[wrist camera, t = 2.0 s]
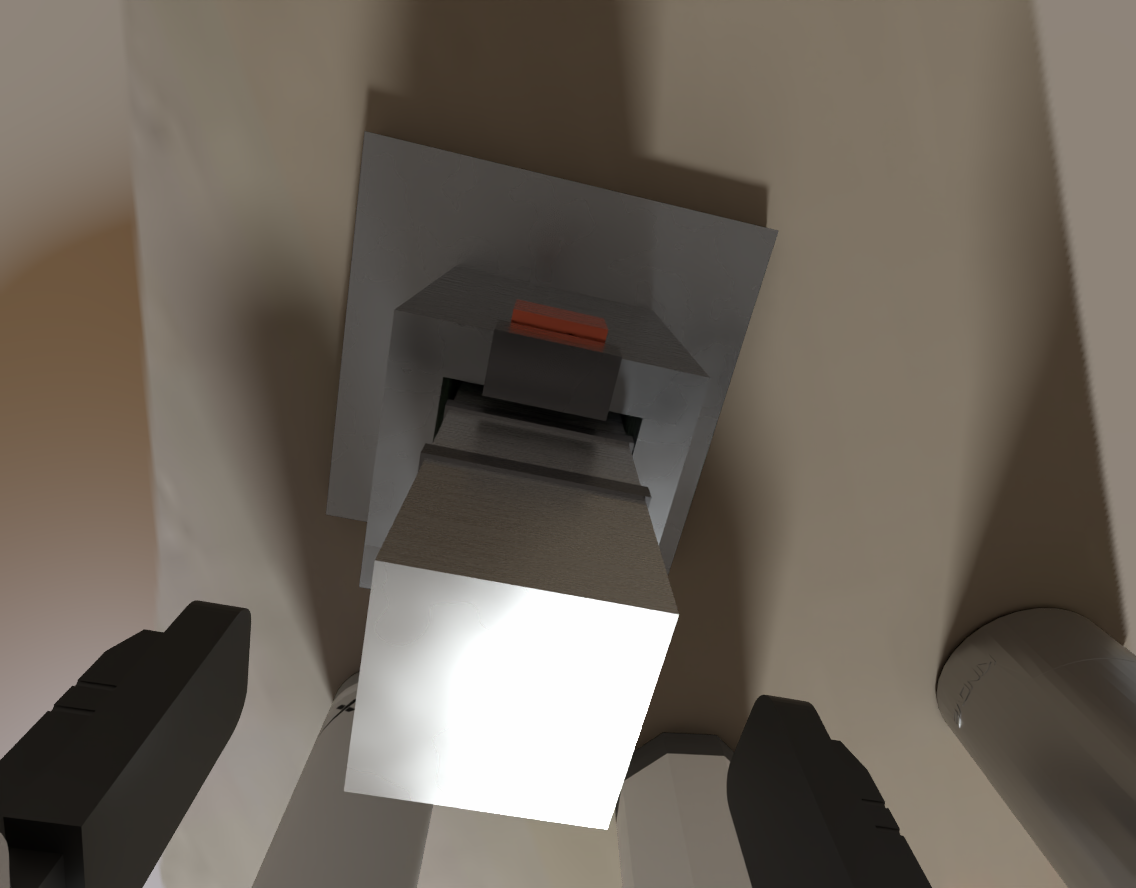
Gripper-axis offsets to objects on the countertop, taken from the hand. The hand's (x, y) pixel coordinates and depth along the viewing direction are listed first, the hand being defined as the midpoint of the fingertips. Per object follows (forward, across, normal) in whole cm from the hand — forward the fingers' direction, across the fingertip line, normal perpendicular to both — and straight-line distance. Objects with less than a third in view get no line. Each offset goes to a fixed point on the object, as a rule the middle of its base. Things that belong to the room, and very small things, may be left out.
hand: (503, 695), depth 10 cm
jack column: (+18, 0, 0) cm, 18 cm away
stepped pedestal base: (+20, 0, 0) cm, 20 cm away
